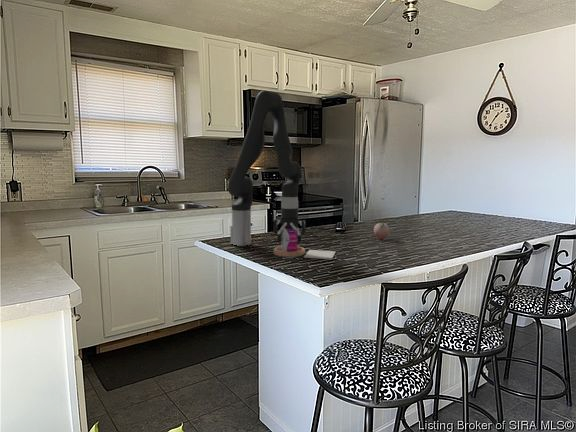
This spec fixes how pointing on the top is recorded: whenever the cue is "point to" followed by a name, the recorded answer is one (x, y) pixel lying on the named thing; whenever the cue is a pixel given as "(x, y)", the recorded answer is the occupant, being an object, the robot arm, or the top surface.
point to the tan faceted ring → (279, 252)
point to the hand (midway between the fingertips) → (289, 243)
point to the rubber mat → (320, 254)
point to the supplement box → (289, 240)
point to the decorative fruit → (381, 230)
